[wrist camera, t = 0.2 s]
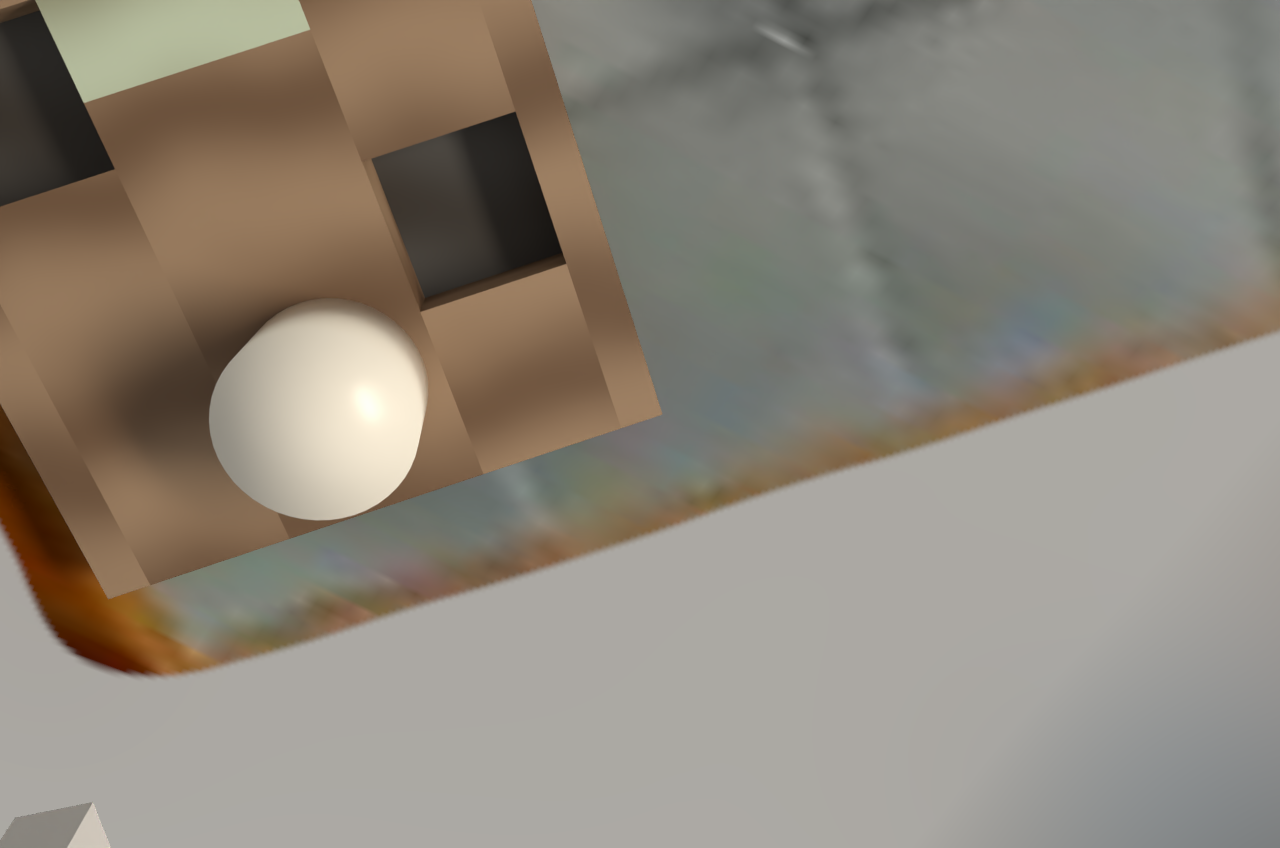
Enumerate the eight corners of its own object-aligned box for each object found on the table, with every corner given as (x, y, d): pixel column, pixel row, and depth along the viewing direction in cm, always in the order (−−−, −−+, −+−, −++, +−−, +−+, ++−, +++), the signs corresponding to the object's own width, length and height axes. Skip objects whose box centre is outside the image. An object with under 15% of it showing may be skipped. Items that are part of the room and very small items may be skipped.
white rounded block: (209, 332, 34) (173, 365, 30) (388, 273, 34) (374, 299, 30) (285, 496, 36) (260, 546, 32) (454, 439, 36) (449, 483, 32)
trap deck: (-249, -143, 30) (-402, -185, 25) (415, -354, 31) (398, -439, 26) (132, 566, 39) (75, 644, 33) (652, 393, 39) (675, 443, 34)
